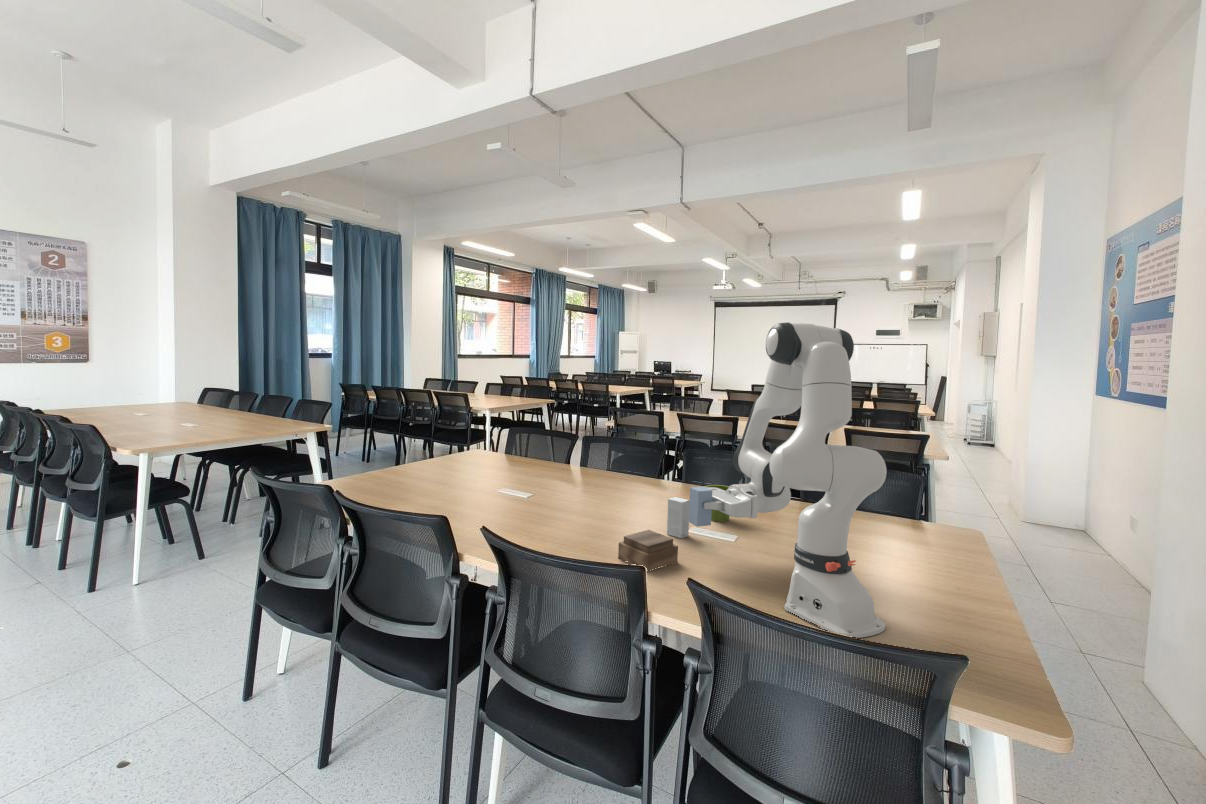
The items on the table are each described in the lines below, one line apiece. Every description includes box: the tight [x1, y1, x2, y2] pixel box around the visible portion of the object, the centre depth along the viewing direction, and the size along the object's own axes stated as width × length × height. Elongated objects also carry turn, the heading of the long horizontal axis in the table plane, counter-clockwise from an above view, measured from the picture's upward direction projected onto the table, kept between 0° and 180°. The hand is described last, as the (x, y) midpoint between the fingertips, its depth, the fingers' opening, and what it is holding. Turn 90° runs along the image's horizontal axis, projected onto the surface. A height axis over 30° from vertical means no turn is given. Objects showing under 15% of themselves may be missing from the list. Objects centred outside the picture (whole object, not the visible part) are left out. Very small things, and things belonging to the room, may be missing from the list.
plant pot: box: [704, 484, 731, 523], centre depth 197 cm, size 12×12×11 cm
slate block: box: [689, 486, 712, 528], centre depth 154 cm, size 4×4×10 cm
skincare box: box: [666, 496, 690, 539], centre depth 179 cm, size 6×4×12 cm
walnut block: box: [617, 529, 679, 573], centre depth 157 cm, size 12×12×7 cm
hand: (697, 502), depth 154 cm, fingers closed on slate block, 4 cm apart
